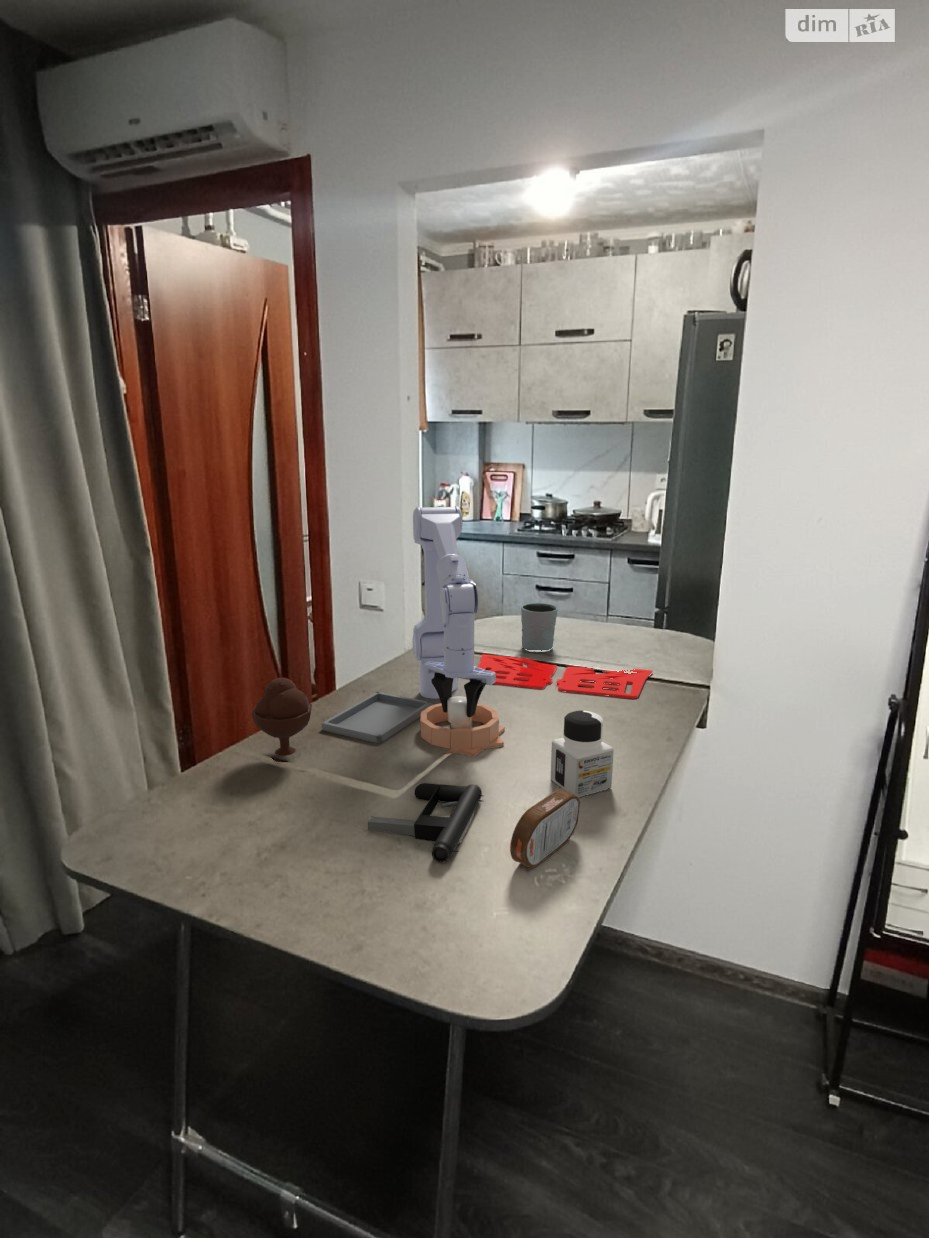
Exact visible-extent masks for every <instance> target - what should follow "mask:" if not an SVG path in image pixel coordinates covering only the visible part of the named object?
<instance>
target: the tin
mask: <svg viewBox="0 0 929 1238" xmlns="http://www.w3.org/2000/svg"><path fill="white" fill-rule="evenodd" d="M580 806H581V800H580V797H579V798H578V797H577V796H576V795H574V794H572V793H570V792H568V791H566V790H565V789H563V788H557V789H556V790H555V791H552V793H550V794H549V795H547V796H546V797H545V798H542V799H541V800H540V801H538V802H536V803H535V804H534V805H532V806H530V807H529V808H528V809H526V810H525V812H524V813H523V814H522V815H521V817H520V818H519V820H518V821H517V823H516V825H515V828H513V829H514V830H513V833H512V835H511V839H510V844H509V846H510V847H509V854H510V857H511V858H512V860H513V862H514V861H515V862H516V863H519V864H521V865H523V866H525V867H527V868H535V867H538V866H539V865H540V864H542V863H543V862H544V861H545V860H546V859H548V858H549V857H550V856H551V855H553V854H554V853H556V852H557V851H558V850H560V848H562V847H563V846H565V845H566V844H567V842H568V841H569V840H570V839H571V837H572V836H573V834H574V832H575V830H576V829H577V826H578V822H579V814H580Z"/></svg>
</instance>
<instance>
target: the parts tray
mask: <svg viewBox="0 0 929 1238" xmlns="http://www.w3.org/2000/svg"><path fill="white" fill-rule="evenodd" d="M431 705H433V704H432V702H431V701H427V700H426V701H425V700H421V699H417V698H412V697H411V698H410V697H407V696H401V695H395V694H391V693H386V692H380V691H376V692H374V693H373V694H371V695H369V696H367V697H366V698H363V699H362V700H360V701H358V702H356V703H355V704H353V705H351V706H349V707H347V708H346V709H344V710H342V711H340V712H339V713H336V714H334V715H333V716H332V717H330V718H328V719H326V720H325V721H323V722H321V730H322V731H324V732H327V733H332V734H337V735H341V736H345V737H349V738H352V739H359V740H361V741H365V742H366V741H367V742H369V743H370V742H371V743H375V744H380V745H381V744H382V743H384V742H385V741H387V740H389V738H391V737H392V736H394V735H395V734H397V733H399V732H401V730H403V729H404V728H406V727H407V726H409V725H410V724H412V723H413V722H415V721H416V720H418V719H420V718H421V712H422V711H423V710H425V709H426V708H428V707H429V706H431Z"/></svg>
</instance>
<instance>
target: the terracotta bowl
mask: <svg viewBox="0 0 929 1238" xmlns="http://www.w3.org/2000/svg"><path fill="white" fill-rule="evenodd" d="M446 721H448V712H447V713H445V712H443V708H442V704H441V702H440V703H436V704H432V705H431V706H429V707H428V708H426V709H425V710H423V711H422V712H421V717H420V738H422V739H423V740H425V741H426V742H427V743H428V744H430V745H432V746H437V747H441V748H445V749H447V751H446V752H444V753H443V755H448V754H459V755H460V754H461V755H464V756H467V757H468V756H469V757H474V758H476V757H477V756H478V755H479V754H480V753H481V752H482V751H484V749H485V750H488V749H491V748H492V749H493V747H494V748H500V746H501V747H504V746H505V742H504V741H503V740H502V739H501V738H500V735H502V734H503V733H504V732H505V730H506V727H505V726H503V725H500V723H499V722H500V718H499V714H498V711H497V710H496V709H494V708H492V707H491V706H488V705H487V704H485V703H479V702H478V703H477V707H476V711H475V715H473V716H472V722H473V721H474V722H478V723H480V724H479V725H478V726H475V727H472V728H471V729H453V728H448V727H445V726H444V727H443V726H440V725H436V724H437V723H441V722H446ZM502 732H503V733H502ZM501 733H502V734H501Z"/></svg>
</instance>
